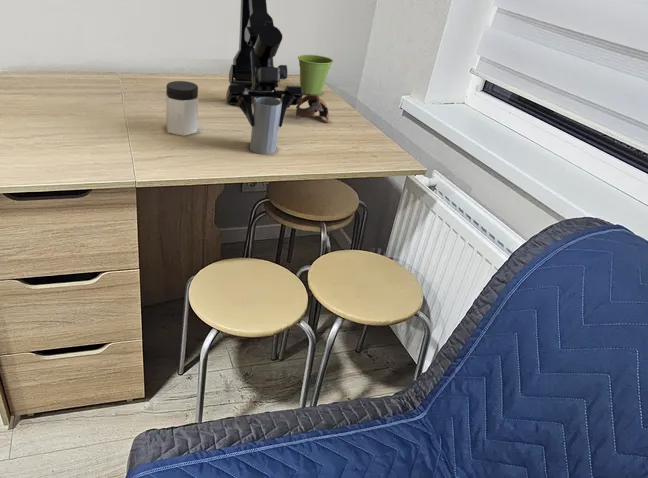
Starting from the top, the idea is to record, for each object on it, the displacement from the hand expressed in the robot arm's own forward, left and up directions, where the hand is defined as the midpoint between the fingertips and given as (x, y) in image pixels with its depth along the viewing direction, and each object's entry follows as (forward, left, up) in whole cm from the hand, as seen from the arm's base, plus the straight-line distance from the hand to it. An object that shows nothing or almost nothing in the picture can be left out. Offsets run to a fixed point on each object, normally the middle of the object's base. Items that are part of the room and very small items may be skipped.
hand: (266, 126), depth 129 cm
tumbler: (-1, +1, -7) cm, 7 cm away
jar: (-24, +1, -7) cm, 25 cm away
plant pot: (-4, +56, -7) cm, 57 cm away
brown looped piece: (+4, +31, -7) cm, 32 cm away
